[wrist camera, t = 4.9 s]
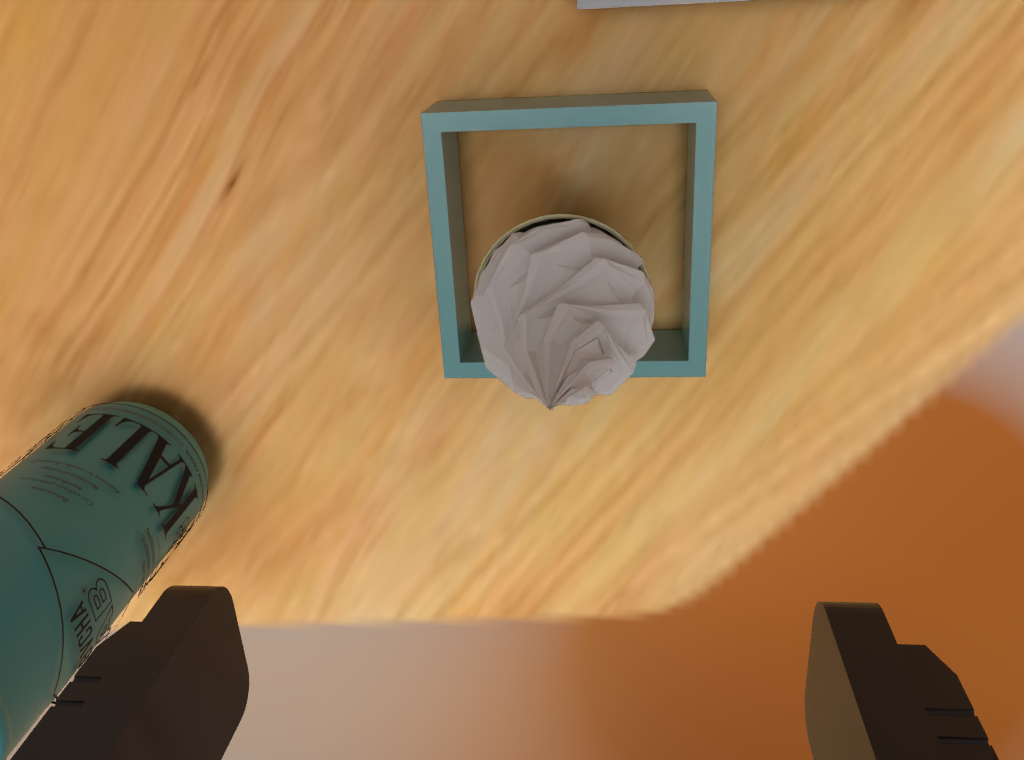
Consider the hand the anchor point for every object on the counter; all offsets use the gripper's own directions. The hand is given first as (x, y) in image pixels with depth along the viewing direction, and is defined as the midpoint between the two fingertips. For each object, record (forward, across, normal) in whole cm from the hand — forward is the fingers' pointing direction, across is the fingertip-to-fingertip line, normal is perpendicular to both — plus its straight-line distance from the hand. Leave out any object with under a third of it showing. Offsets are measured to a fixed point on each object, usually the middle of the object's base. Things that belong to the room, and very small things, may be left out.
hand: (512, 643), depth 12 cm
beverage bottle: (+22, +18, +9) cm, 30 cm away
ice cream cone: (+22, 0, 0) cm, 22 cm away
